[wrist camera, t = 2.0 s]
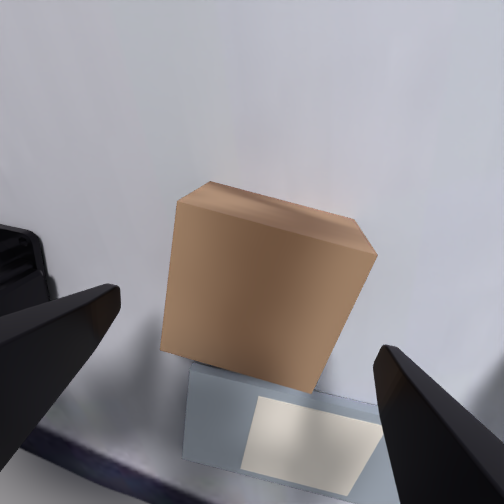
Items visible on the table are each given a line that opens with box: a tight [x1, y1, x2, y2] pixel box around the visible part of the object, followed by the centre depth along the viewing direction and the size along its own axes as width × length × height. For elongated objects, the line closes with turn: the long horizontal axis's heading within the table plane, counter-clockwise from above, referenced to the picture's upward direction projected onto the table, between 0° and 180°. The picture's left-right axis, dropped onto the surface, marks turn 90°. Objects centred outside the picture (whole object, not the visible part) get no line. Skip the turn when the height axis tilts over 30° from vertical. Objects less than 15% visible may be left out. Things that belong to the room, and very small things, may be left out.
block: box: [160, 181, 378, 394], centre depth 12 cm, size 6×6×4 cm
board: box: [182, 363, 400, 504], centre depth 18 cm, size 16×9×1 cm, turn 81°
